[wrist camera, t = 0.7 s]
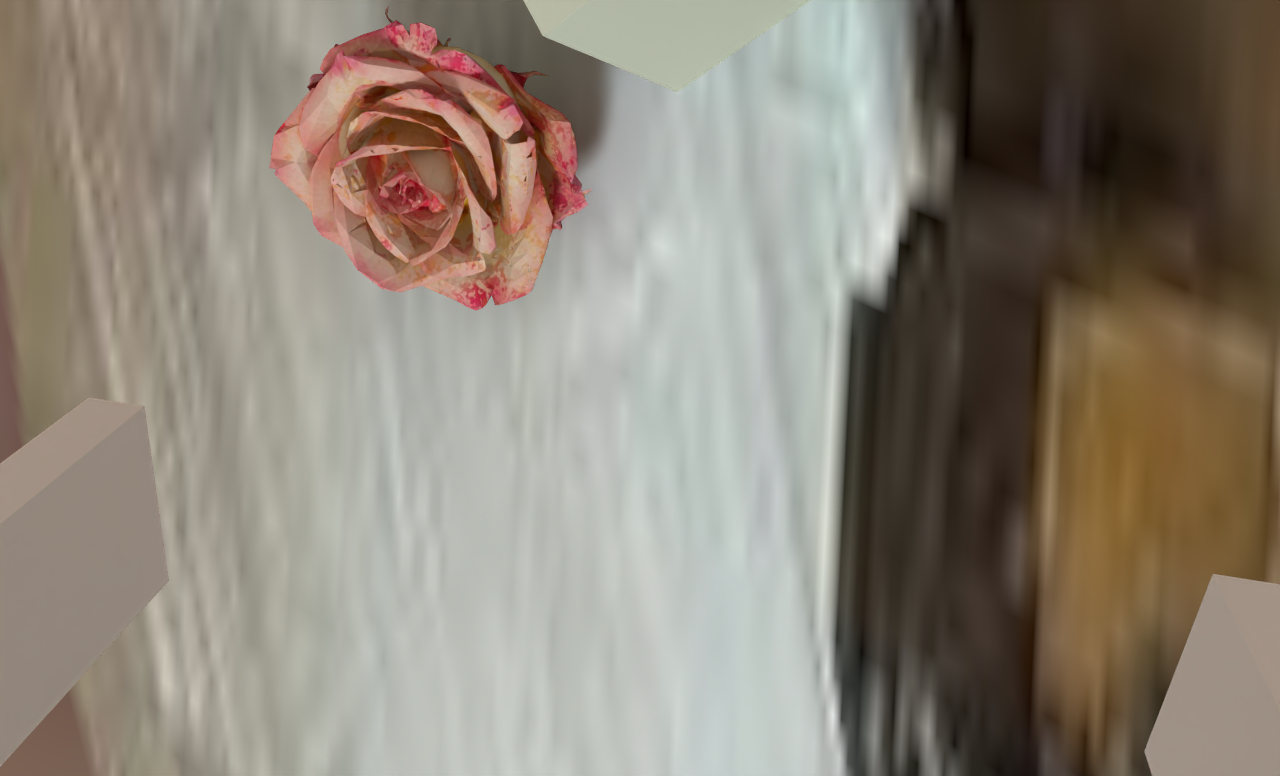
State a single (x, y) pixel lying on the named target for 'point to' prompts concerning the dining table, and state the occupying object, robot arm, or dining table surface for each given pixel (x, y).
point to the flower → (430, 165)
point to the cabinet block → (659, 32)
